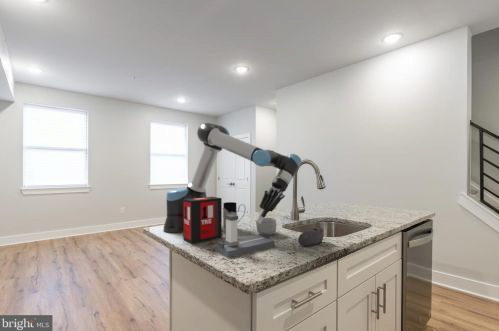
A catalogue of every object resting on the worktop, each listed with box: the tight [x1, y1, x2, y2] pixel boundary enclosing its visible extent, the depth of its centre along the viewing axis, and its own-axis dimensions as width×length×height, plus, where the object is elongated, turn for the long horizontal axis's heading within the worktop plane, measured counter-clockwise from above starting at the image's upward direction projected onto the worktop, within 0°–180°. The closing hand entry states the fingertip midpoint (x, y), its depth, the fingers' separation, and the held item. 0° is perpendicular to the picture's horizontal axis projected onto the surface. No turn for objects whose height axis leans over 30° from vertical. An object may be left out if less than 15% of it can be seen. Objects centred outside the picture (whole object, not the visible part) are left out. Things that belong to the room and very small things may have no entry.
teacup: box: [255, 216, 277, 236], centre depth 132 cm, size 14×11×8 cm
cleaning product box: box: [182, 196, 223, 245], centre depth 122 cm, size 16×9×20 cm, turn 129°
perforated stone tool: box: [297, 227, 324, 247], centre depth 112 cm, size 15×5×7 cm, turn 119°
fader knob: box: [224, 214, 239, 247], centre depth 104 cm, size 5×4×12 cm
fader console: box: [213, 232, 276, 258], centre depth 108 cm, size 12×24×4 cm, turn 125°
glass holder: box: [222, 201, 246, 232], centre depth 143 cm, size 9×14×15 cm, turn 117°
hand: (257, 222), depth 113 cm, fingers closed
